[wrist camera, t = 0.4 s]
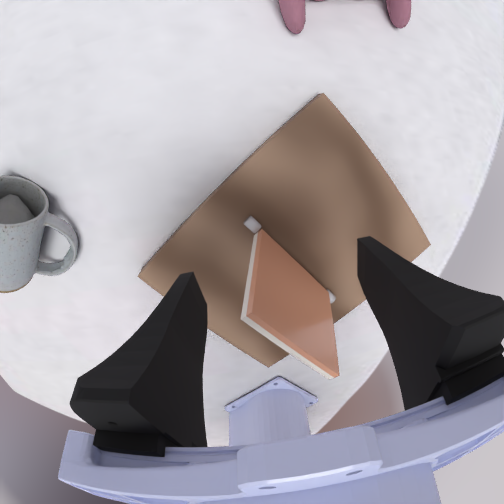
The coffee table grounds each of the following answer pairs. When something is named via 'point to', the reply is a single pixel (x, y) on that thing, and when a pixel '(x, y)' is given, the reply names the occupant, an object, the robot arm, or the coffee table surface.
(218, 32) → the coffee table surface
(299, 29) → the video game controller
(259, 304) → the hinged panel
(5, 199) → the ceramic mug
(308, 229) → the board
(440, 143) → the coffee table surface
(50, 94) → the coffee table surface
